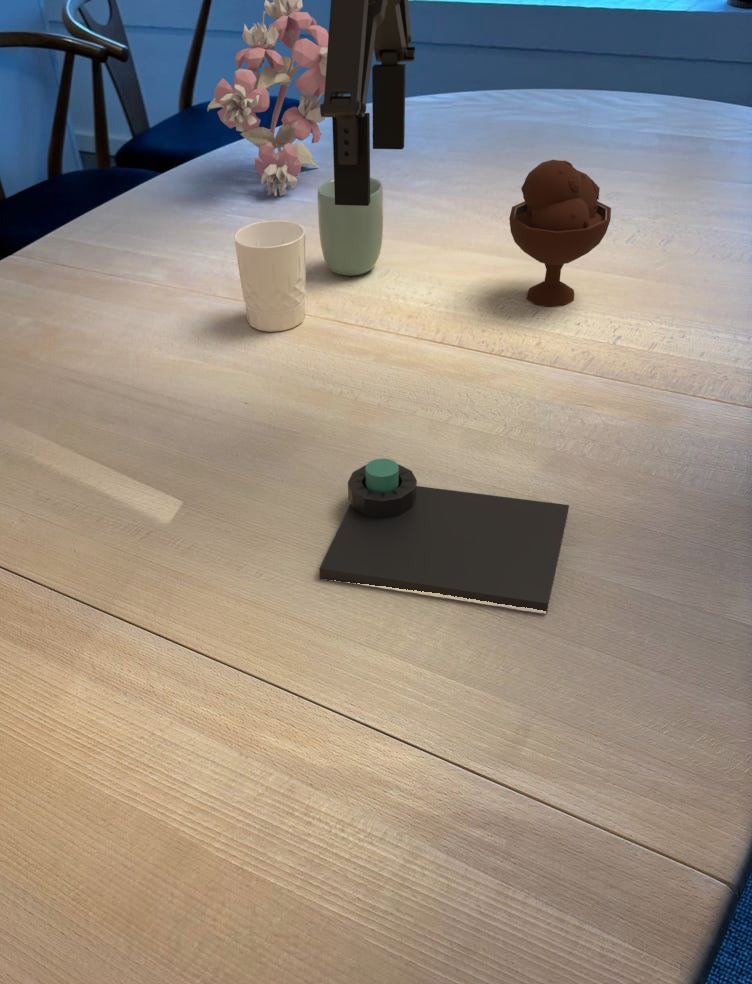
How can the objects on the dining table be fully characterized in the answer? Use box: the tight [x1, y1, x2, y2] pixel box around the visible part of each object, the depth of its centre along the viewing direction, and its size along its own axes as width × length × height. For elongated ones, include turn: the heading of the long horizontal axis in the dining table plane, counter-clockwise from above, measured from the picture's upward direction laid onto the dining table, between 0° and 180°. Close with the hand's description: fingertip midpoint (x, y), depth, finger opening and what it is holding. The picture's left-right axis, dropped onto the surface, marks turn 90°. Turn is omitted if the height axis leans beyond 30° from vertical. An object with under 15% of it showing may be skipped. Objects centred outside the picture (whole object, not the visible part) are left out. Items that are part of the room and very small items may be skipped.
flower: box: [206, 0, 329, 197], centre depth 144 cm, size 20×22×25 cm
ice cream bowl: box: [509, 159, 612, 308], centre depth 108 cm, size 11×11×15 cm
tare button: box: [365, 458, 399, 493], centre depth 83 cm, size 3×3×2 cm
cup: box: [317, 177, 384, 277], centre depth 120 cm, size 8×8×10 cm
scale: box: [319, 464, 570, 612], centre depth 80 cm, size 18×13×3 cm
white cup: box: [233, 219, 307, 333], centre depth 111 cm, size 8×8×10 cm
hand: (371, 174), depth 82 cm, fingers open, 13 cm apart
